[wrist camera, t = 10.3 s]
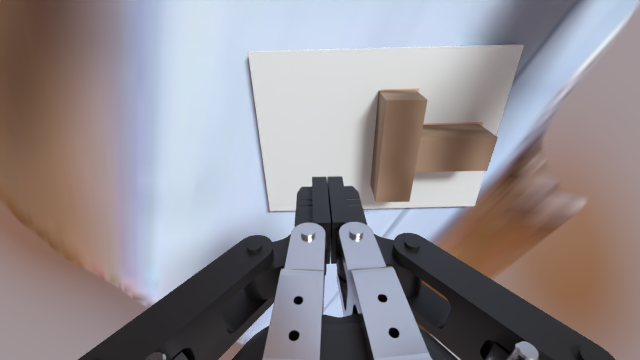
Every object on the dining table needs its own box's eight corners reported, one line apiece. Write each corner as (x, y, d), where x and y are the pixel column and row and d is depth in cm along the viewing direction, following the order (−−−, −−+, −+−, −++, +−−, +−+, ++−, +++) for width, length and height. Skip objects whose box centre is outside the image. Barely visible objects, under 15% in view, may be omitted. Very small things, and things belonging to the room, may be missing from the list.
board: (271, 206, 40) (269, 211, 39) (250, 51, 30) (247, 52, 29) (470, 201, 40) (474, 206, 39) (517, 44, 30) (524, 45, 29)
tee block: (370, 184, 37) (375, 202, 34) (378, 90, 31) (386, 100, 28) (462, 182, 37) (477, 200, 34) (488, 88, 31) (510, 98, 28)
